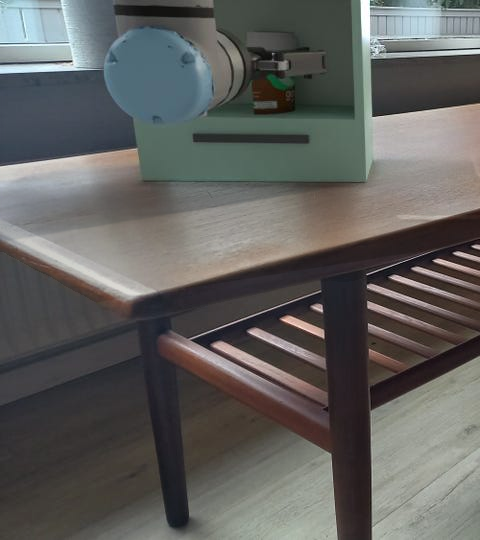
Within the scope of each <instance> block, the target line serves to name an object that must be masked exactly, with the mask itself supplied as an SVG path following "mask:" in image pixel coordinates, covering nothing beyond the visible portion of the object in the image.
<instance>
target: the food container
mask: <svg viewBox="0 0 480 540" xmlns="http://www.w3.org/2000/svg"><path fill="white" fill-rule="evenodd" d="M247 44H248V47H263V48H264V49H265V50H266V51H295V49H297V48H300V46H299V42H298V39H297V37H295V32H281V31H253V32H247ZM249 53H251V54H253V53H252V52H249ZM251 84H252V95H253V106H254V115H265V114H281V113H288V112H293V111H295V76H290V77H287V78H284V79H279V78H276V77H274V76H273V74H271V75H268V76H267V78H266V79H264V80H251Z"/></svg>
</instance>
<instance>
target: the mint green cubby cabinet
mask: <svg viewBox="0 0 480 540" xmlns="http://www.w3.org/2000/svg"><path fill="white" fill-rule="evenodd" d="M213 6H214V8H213V10H214V18H215V23H216V27H217V28H221V29H224V30H226V31H228V32H230V33H232V34H233V35H235V36H236V37H237V38H238V39H239V40H240V41H241V42H242V43H243V44H244V46H245V47H248V44H247V32H253V31H281V32H295V37H297V39H298V42H299V46H300V48H301V47H309V50H310V51H318V50H323V51H326V65H327V73H324V74H312V79H306V78H304V75H300V76H295V111H293V112H288V113H281V114H265V115H254V106H253V95H252V84H251V81H250V84H249V86H248V87H247V89H246V90H245V92H244V93H243V94H242V95H241V96H239V97H238V98H236V99H235V100H232V101H230V102H228V103H226V104H223V105H220V106H218V107H216V108H213V109H211V110H209V111H207V115H206V116H205V117H198V118H197V119H192V120H191V121H189V122H186V123H182V122H179V123H175V124H170V125H164V126H159V125H153V124H148V123H145V122H142V121H139V120H137V119H135V118H133V117H132V120H133V127H134V135H135V142H136V143H135V144H136V148H137V156H138V163H139V169H140V170H139V172H140V176H141V181H143V182H144V181H150V182H152V181H153V182H155V181H157V182H162V181H163V182H164V181H165V182H287V183H291V182H293V183H294V182H295V183H297V182H298V183H299V182H300V183H303V182H304V183H367V181H368V178H369V174H370V171H371V168H372V164H373V161H374V136H373V135H374V134H373V133H374V132H373V131H374V130H373V96H372V94H373V93H372V60H371V59H372V58H371V55H372V54H371V15H370V0H213ZM118 16H127V15H118ZM156 17H159V16H156ZM191 18H199V17H191Z"/></svg>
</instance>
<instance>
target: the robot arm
mask: <svg viewBox="0 0 480 540" xmlns="http://www.w3.org/2000/svg"><path fill="white" fill-rule="evenodd" d="M112 5H113V11H114V16H115V24H116V30H117V38H116V39H115V40H114V41H113V42H112V44H111V45H110V46H109V49H108V51H107V53H106V56H105V58H104V63H103V77H104V78H103V79H104V82H105V85H106V88H107V90H108V92H109V94H110V96H111V98H112V100H113V101H114V102H115V103H116V104H117V106H118V107H119V108H120V109H121V110H122V111H123V112H124V113H126V114H127V115H129V116H130V117H131V118H132V119H133V118H135V119H137V120H139V121H142V122H145V123H148V124H153V125H159V126H164V125H170V124H175V123H179V122H182V123H186V122H189V121H191V120H192V119H197V118H198V117H205V116H206V115H207V111H209V110H211V109H213V108H216V107H218V106H220V105H223V104H226V103H228V102H230V101H232V100H235V99H236V98H238V97H239V96H241V95H242V94H243V93H244V92H245V90H246V89H247V87H248V86H249V84H250V81H251V80H264V79H266V78H267V76H268V75H271V74H273V76H274V77H276V78H279V79H284V78H287V77H290V76H300V75H304V78H306V79H312V74H324V73H327V65H326V51H323V50H318V51H310V50H309V47H301V48H297V49H295V51H266V50H265V49H264V48H263V47H245V46H244V44H243V43H242V42H241V41H240V40H239V39H238V38H237V37H236V36H235V35H233V34H232V33H230V32H228V31H226V30H224V29H221V28H217V27H216V23H215V18H214V10H213V8H214V6H213V0H112ZM119 15H127V16H119ZM156 16H159V17H156ZM191 17H199V18H191ZM249 52H252V53H253V54H251V53H249Z"/></svg>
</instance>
